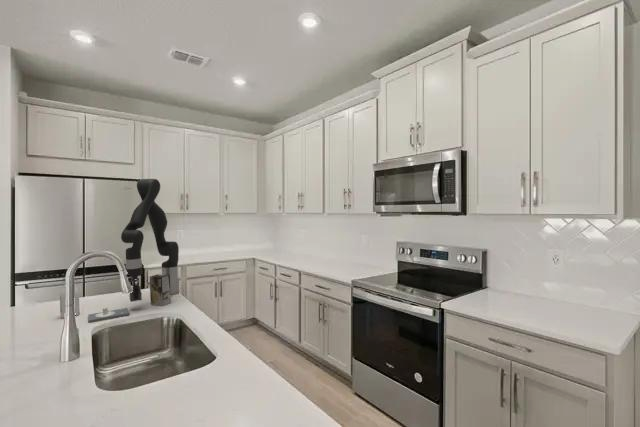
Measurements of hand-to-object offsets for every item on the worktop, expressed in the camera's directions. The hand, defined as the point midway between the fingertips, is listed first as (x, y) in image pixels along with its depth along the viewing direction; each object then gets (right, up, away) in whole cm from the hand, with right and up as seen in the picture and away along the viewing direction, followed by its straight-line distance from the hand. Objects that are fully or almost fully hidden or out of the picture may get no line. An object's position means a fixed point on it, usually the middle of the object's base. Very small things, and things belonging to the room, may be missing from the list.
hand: (135, 297), depth 172 cm
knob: (0, -1, 0) cm, 1 cm away
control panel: (-8, -7, -10) cm, 14 cm away
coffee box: (+9, -6, +10) cm, 14 cm away
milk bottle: (-28, -7, -9) cm, 31 cm away
